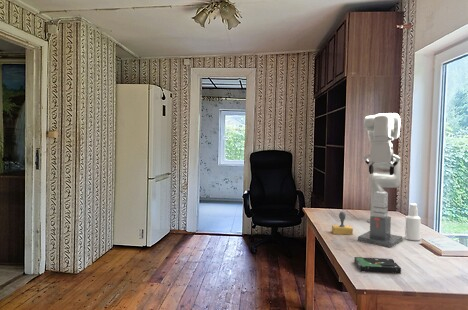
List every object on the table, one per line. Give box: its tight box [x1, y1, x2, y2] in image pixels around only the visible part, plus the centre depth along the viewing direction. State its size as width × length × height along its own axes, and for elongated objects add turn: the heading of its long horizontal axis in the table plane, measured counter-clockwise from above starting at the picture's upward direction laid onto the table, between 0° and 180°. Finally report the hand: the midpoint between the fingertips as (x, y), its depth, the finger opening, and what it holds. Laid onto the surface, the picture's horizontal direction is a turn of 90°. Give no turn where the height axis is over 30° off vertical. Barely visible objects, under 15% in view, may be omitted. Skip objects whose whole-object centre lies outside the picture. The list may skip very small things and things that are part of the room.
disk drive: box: [353, 256, 402, 275], centre depth 128 cm, size 10×3×15 cm
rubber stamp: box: [331, 211, 354, 236], centre depth 178 cm, size 10×6×12 cm, turn 84°
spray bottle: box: [405, 202, 422, 241], centre depth 168 cm, size 7×7×18 cm
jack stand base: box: [357, 215, 403, 248], centre depth 165 cm, size 16×16×12 cm
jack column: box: [374, 191, 389, 219], centre depth 165 cm, size 5×5×22 cm
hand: (381, 174), depth 164 cm, fingers open, 9 cm apart
